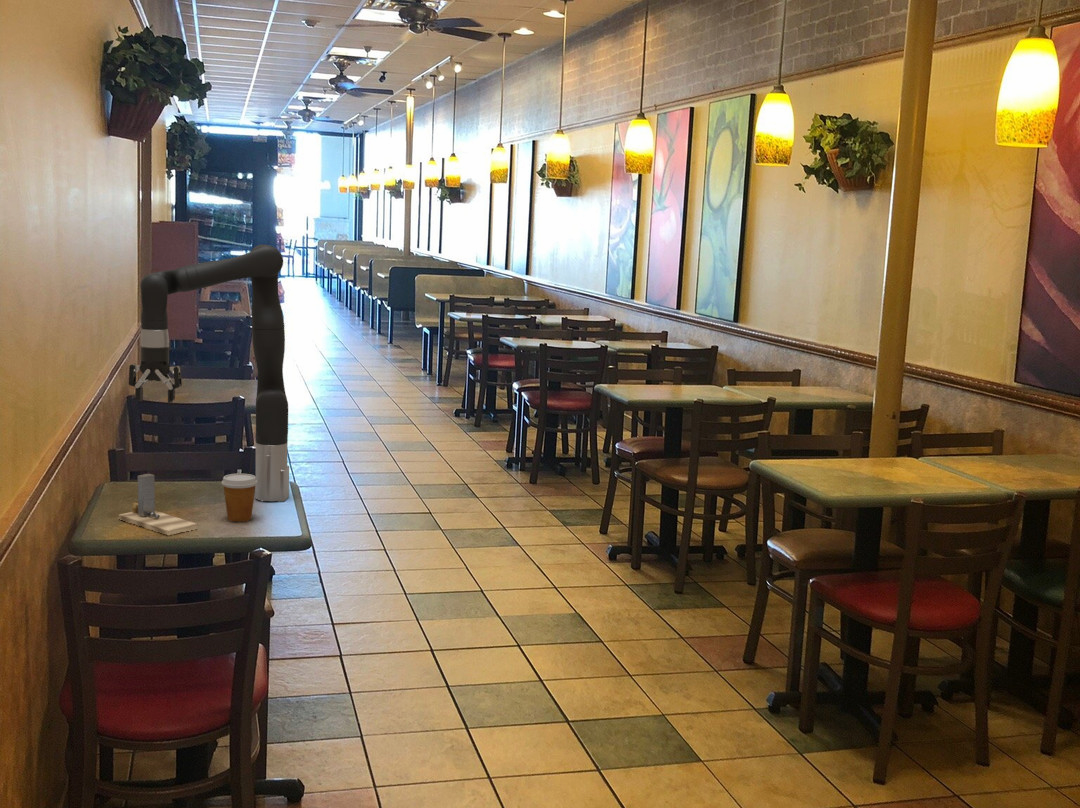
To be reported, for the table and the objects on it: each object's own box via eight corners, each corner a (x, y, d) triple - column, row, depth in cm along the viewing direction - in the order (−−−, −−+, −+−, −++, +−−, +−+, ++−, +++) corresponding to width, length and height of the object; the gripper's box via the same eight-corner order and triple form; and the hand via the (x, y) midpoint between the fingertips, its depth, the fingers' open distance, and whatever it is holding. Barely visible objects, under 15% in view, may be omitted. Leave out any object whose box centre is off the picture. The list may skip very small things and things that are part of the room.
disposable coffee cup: (255, 523, 292) (255, 481, 290) (219, 523, 290) (219, 481, 289) (258, 514, 301) (258, 473, 299) (223, 514, 300) (223, 472, 298)
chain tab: (163, 517, 288) (163, 477, 286) (152, 519, 285) (151, 479, 283) (143, 510, 293) (143, 471, 291) (132, 513, 290) (131, 474, 288)
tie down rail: (197, 529, 284) (197, 514, 284) (168, 536, 277) (168, 521, 276) (147, 513, 297) (147, 499, 296) (118, 520, 290) (118, 505, 289)
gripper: (124, 345, 295) (125, 402, 298) (175, 347, 295) (176, 405, 298) (134, 342, 303) (135, 398, 305) (184, 344, 303) (185, 400, 305)
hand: (155, 401), depth 302 cm, fingers open, 8 cm apart
